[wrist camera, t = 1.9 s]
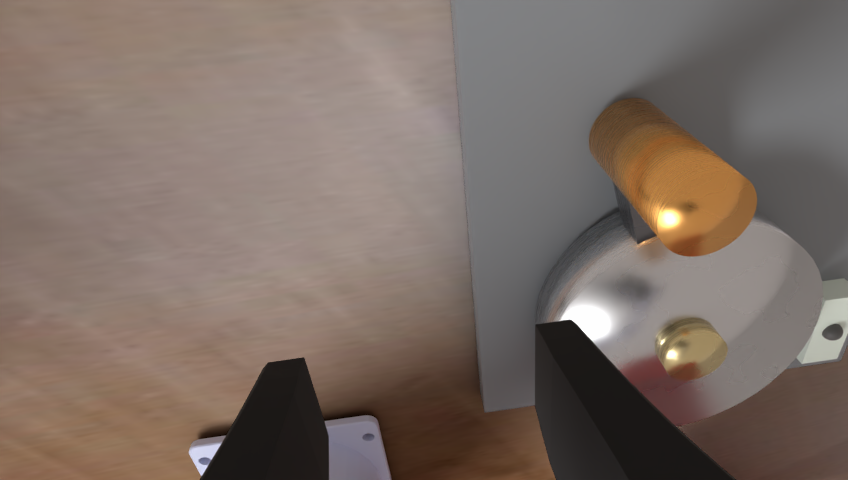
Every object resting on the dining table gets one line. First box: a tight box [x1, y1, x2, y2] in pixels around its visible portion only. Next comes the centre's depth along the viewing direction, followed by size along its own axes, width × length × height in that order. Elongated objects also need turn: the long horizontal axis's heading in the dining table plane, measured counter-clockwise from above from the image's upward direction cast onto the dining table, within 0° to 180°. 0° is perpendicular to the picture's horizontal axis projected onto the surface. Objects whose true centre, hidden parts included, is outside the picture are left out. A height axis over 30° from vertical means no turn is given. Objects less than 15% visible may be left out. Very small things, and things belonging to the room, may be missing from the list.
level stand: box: [451, 0, 848, 413], centre depth 19 cm, size 16×15×2 cm
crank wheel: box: [535, 98, 823, 426], centre depth 17 cm, size 13×9×5 cm
